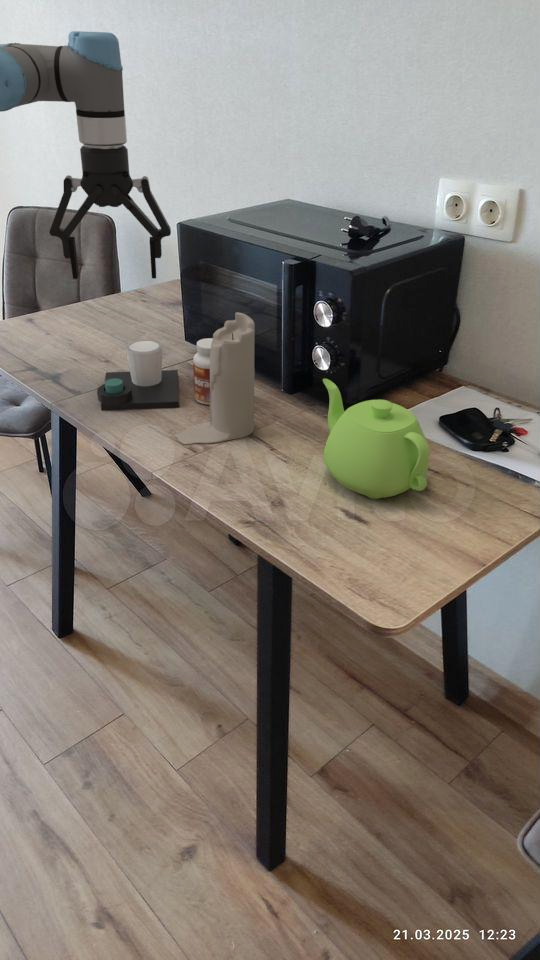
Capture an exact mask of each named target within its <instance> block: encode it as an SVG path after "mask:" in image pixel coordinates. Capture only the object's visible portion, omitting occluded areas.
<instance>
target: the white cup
mask: <svg viewBox="0 0 540 960" xmlns="http://www.w3.org/2000/svg"><path fill="white" fill-rule="evenodd" d="M125 353H126V358H127V363H128V368H129V372H130V374H131V379H132V382H133V384H135V385H138V386H153V385H156V384H158V383H160V382H161V376H162V370H163V344H162V343H161V342H160V341H157V340H153V339H137V340H133V341H130V342H129V343H127V344H126V345H125Z"/></svg>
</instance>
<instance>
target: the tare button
mask: <svg viewBox="0 0 540 960" xmlns="http://www.w3.org/2000/svg"><path fill="white" fill-rule="evenodd" d="M104 382H105V390H106V393H110V394H114V393H120V392H122V391H123V390H124V389H123V381H122V380H121V379H117V378H113V379H108V380H106V381H105V380H104Z"/></svg>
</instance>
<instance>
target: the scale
mask: <svg viewBox="0 0 540 960" xmlns="http://www.w3.org/2000/svg"><path fill="white" fill-rule="evenodd" d="M113 378H117V379H121V380H122V381H123V389H124V390H123V391H122V392H120V393H114V394H110V393H106V390H105V381H106V380H108V379H113ZM179 389H180V388H179V370H178V369H167V370H165V369H164V370H163V369H162V376H161V382H160V383H158V384H156V385H153V386H138V385H135V384H133V382H132V379H131V374H130V371H107V372H105V377H104V383H103V384H101V385H100V386H98V387H97V390H96V395H97V401H98V402H100V410H101V411H117V410H118V411H119V410H140V409H141V410H142V409H143V410H144V409H167V408H180V392H179V391H180V390H179Z"/></svg>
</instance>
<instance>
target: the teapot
mask: <svg viewBox="0 0 540 960" xmlns="http://www.w3.org/2000/svg"><path fill="white" fill-rule="evenodd" d="M322 382H323V384H324V386H325V388H326V390H327V392H328V398H329V404H328V412H327V428H328V431H329V434H328V436H327V440H326V443H325V446H324V450H323V461H324V462H323V463H324V465H325V467H326V468H327V470H328V471H329V473H330V474H331V476H333V477H334V479H335V480H336V481H337V482H338V483H339V484H340V485H342V486H343V487H345V488H346V489H348V490H350V491H353V492H356V493H357V494H360V495H363V496H366V497H367V498H369V499H373V500H379V499H381V498H390V497H394V496H397V495H400V494H403V493H404V492H406V491H408V490H410V489H411V490H413V491H415V492H416V491H417V492H420V491H423V490H425V489H426V487H427V486H428V480H427V478H426V477H425V476H426V474H427V472H428V470H429V464H430V452H431V449H430V445H429V443H428V441H427V440H426V439H427V438H426V436H425V434H424V432H423V429H422V426H421V423H420V422H419V420H418V418H417V417H416V415H415V414H414V413H413V412H412V411H410V410H409V409H407V408H406V407H404V406H402V405H399V404H397V403H394V402H392V401H389V400H388V399H387V400H386V399H369V400H363V401H361V402H358V403H356V404H353V405H351V406H349V407H347V409H346V410H345V409H344V404H343V398H342V394H341V392H340V389H339V387H338V386H337V385H336V383H334V382H333V381H332V380H330V379H328V378H322Z"/></svg>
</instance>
